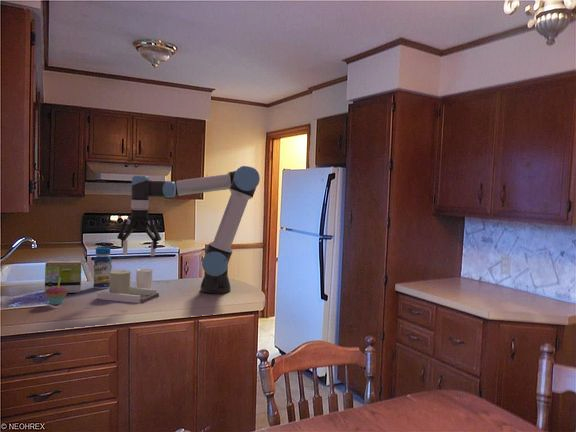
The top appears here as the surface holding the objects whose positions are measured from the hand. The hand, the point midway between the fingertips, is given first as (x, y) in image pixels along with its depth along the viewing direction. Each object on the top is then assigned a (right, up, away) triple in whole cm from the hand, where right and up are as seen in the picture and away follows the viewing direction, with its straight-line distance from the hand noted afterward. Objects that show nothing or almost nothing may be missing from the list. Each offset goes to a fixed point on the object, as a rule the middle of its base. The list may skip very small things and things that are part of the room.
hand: (138, 255), depth 197 cm
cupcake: (-30, -19, -16) cm, 39 cm away
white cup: (-3, -19, +16) cm, 25 cm away
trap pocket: (+4, -20, -2) cm, 20 cm away
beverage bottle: (-25, -18, +18) cm, 36 cm away
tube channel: (-5, -19, 0) cm, 20 cm away
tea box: (-38, -18, +7) cm, 43 cm away
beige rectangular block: (-9, -20, +1) cm, 22 cm away
